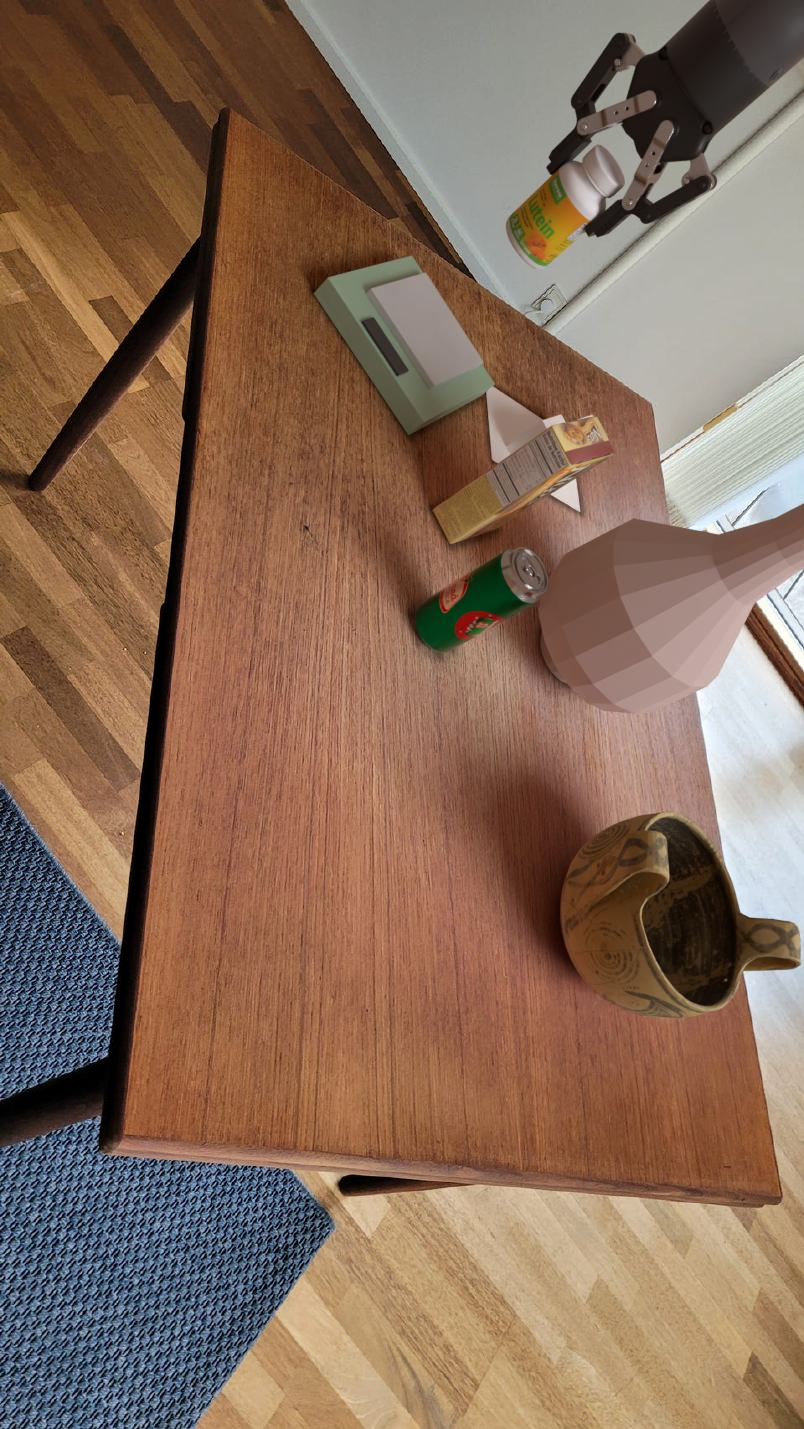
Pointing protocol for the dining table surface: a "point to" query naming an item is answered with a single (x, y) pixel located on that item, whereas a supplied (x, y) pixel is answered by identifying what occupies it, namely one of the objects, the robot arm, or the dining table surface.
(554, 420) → the napkin holder
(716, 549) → the vase
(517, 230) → the supplement bottle
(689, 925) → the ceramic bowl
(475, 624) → the soda can
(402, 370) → the scale
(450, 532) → the candy box
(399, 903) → the dining table surface
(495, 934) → the dining table surface
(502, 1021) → the dining table surface
